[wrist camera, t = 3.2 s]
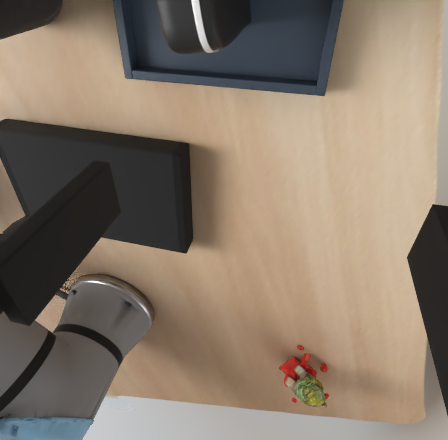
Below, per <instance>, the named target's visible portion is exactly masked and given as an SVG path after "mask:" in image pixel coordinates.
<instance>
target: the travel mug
mask: <svg viewBox="0 0 448 440" xmlns="http://www.w3.org/2000/svg"><path fill="white" fill-rule="evenodd" d="M61 6H62V0H0V39H3V38H7V37H10V36H13V35H16V34H19V33H23V32H26V31H29V30H32V29H35V28H38V27H41V26H44V25H47V24H49V23H51V22H52V21H54V19H55V18H56V17H57V16H58V14H59V12H60V10H61Z"/></svg>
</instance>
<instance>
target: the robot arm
mask: <svg viewBox="0 0 448 440" xmlns="http://www.w3.org/2000/svg"><path fill="white" fill-rule="evenodd" d="M120 213H121V209H120V205H119V201H118V196H117V192H116V188H115V184H114V180H113V175H112V171H111V167H110V163H109V162H103V161H95V160H94V161H92V162H91V163H90V164H89V165H88V166H87V167H86V168H84V169H83V170H82V171H81V172H80V173H79V174H78V175H77V176H75V177H74V178H73V179H72V180H71V181H70V182H69V183H67V184H66V185H65V186H64V187H63V188H62V189H61V190H60V191H58V192H57V193H56V194H55V195H54V196H53V197H52V198H50V199H49V200H48V201H47V202H46V203H45V204H44V205H42V206H41V207H40V208H39V209H38V210H37V211H36V212H35V213H33V214H32V215H31V216H29V215H27V216H25V217H23V218H21V219H19V220H18V221H16V222H14V223H12V224H11V225H10V226H9V227H8V228H7V229H5V230H4V231H3V233H2V234H0V440H82V439H83V437H84V435H85V434H86V432H87V430H88V429H89V427H90V425H92V424H93V421H94V420H93V419H94V417H95V415H96V413H97V411H98V409H99V407H100V405H101V403H102V401H103V399H104V397H105V395H106V393H107V391H108V389H109V387H110V385H111V383H112V381H113V379H114V377H115V375H116V373H117V371H118V368H119V366H120V364H121V362H122V360H123V359H124V357H125V356H126V355H127V354H128V353H129V351H130V350H131V349H132V348H133V347H134V346H135V345H136V344H137V343H138V342H139V341H140V340H141V339H142V338H143V337H144V336H145V335H146V334H147V333H148V332H149V330H150V328H151V326H152V323H153V321H154V317H155V315H154V310H153V308H152V306H151V304H150V302H149V301H148V300H147V299H146V297H145V296H144V295H143V294H142V293H140V292H139V291H138V290H137V289H135V288H134V287H132V286H131V285H129V284H128V283H126V282H124V281H122V280H119V279H117V278H114V277H111V276H107V275H101V274H89V275H85V276H83V277H81V278H79V279H78V280H77V281H76V283H75V284H74V285H73V287H72V288H71V289H70V291H69V295H68V294H67V293H65V292H63V291H61V290H59V289H60V288H61V287H62V285H63V284H64V283H65V282H66V280H67V279H68V278H69V277H70V275H71V274H72V273H73V272H74V270H75V269H76V268H77V267H78V265H79V264H80V263H81V262H82V260H83V259H84V258H85V257H86V255H87V254H88V253H89V252H90V250H91V249H92V248H93V247H94V246H95V244H96V243H97V242H98V241H99V239H100V238H101V237H102V236H103V234H104V233H105V232H106V231H107V229H108V228H109V227H110V226H111V224H112V223H113V222H114V221H115V219H116V218H117V217H118V216H119V214H120ZM407 259H408V263H409V267H410V271H411V275H412V279H413V283H414V287H415V290H416V294H417V298H418V302H419V306H420V310H421V314H422V318H423V322H424V325H425V329H426V333H427V337H428V341H429V345H430V349H431V353H432V356H433V360H434V364H435V368H436V372H437V376H438V380H439V384H440V388H441V391H442V395H443V399H444V403H445V407H446V411H447V415H448V206H442V205H434V204H433V205H432V207H431V209H430V211H429V213H428V215H427V217H426V219H425V221H424V223H423V225H422V228H421V230H420V232H419V234H418V236H417V238H416V240H415V242H414V244H413V246H412V248H411V250H410V252H409V254H408V256H407ZM55 294H56V295H58V296H60V297H62V298H63V299H65V300H67V301H66V304H65V307H64V310H63V313H62V316H61V319H60V322H59V324H58V326H57V327H56V329H55V330H54V332H53V333H52V332H50V331H49V330H48V329H46V328H45V327H43V326H42V325H41V324H39V323H38V322H36V321H35V319H36V318H37V317H38V315H39V314H40V313H41V312H42V310H43V309H44V308H45V307H46V305H47V304H48V303H49V302H50V300H51V299H52V298H53V297H54V295H55Z"/></svg>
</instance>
